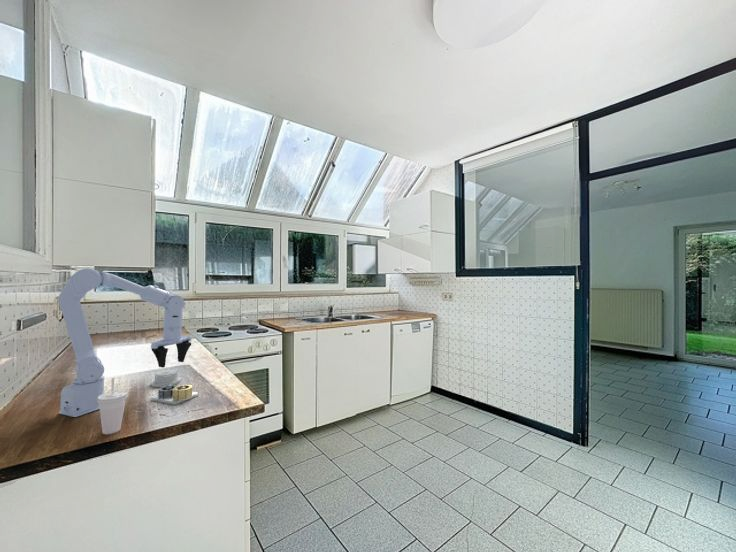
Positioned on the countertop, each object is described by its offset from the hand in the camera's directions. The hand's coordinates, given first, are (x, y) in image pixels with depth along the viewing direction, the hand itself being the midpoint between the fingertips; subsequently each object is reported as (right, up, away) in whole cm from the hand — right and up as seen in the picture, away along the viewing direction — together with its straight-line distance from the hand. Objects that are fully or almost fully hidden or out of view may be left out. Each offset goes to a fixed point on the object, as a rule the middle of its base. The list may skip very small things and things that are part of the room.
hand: (171, 364), depth 111 cm
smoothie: (+3, -10, -30) cm, 31 cm away
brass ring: (+8, -9, -7) cm, 14 cm away
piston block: (+5, -10, -6) cm, 13 cm away
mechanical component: (-8, -10, +9) cm, 16 cm away
